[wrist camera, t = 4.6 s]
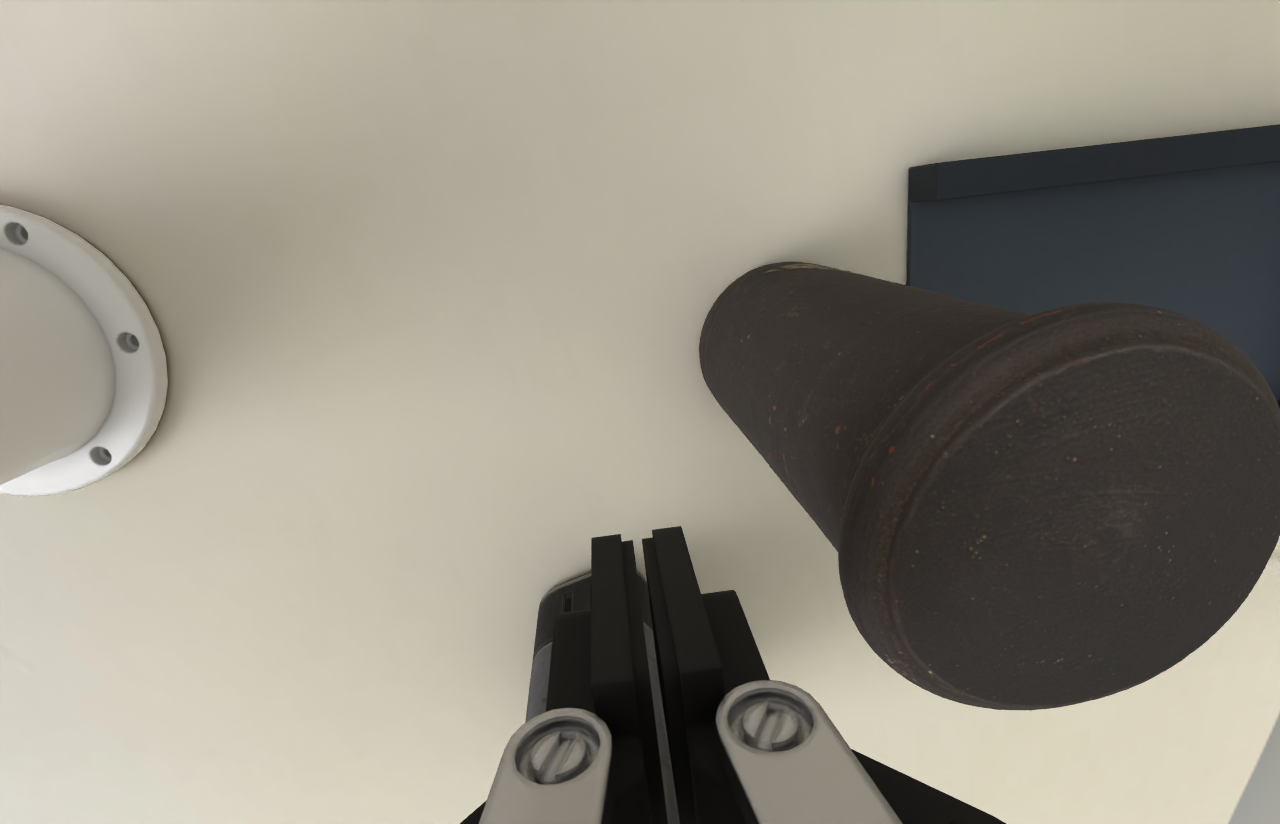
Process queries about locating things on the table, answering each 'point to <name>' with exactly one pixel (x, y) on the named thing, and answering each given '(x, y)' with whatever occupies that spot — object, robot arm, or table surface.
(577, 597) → the electronic device
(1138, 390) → the container
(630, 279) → the table surface
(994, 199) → the tray
